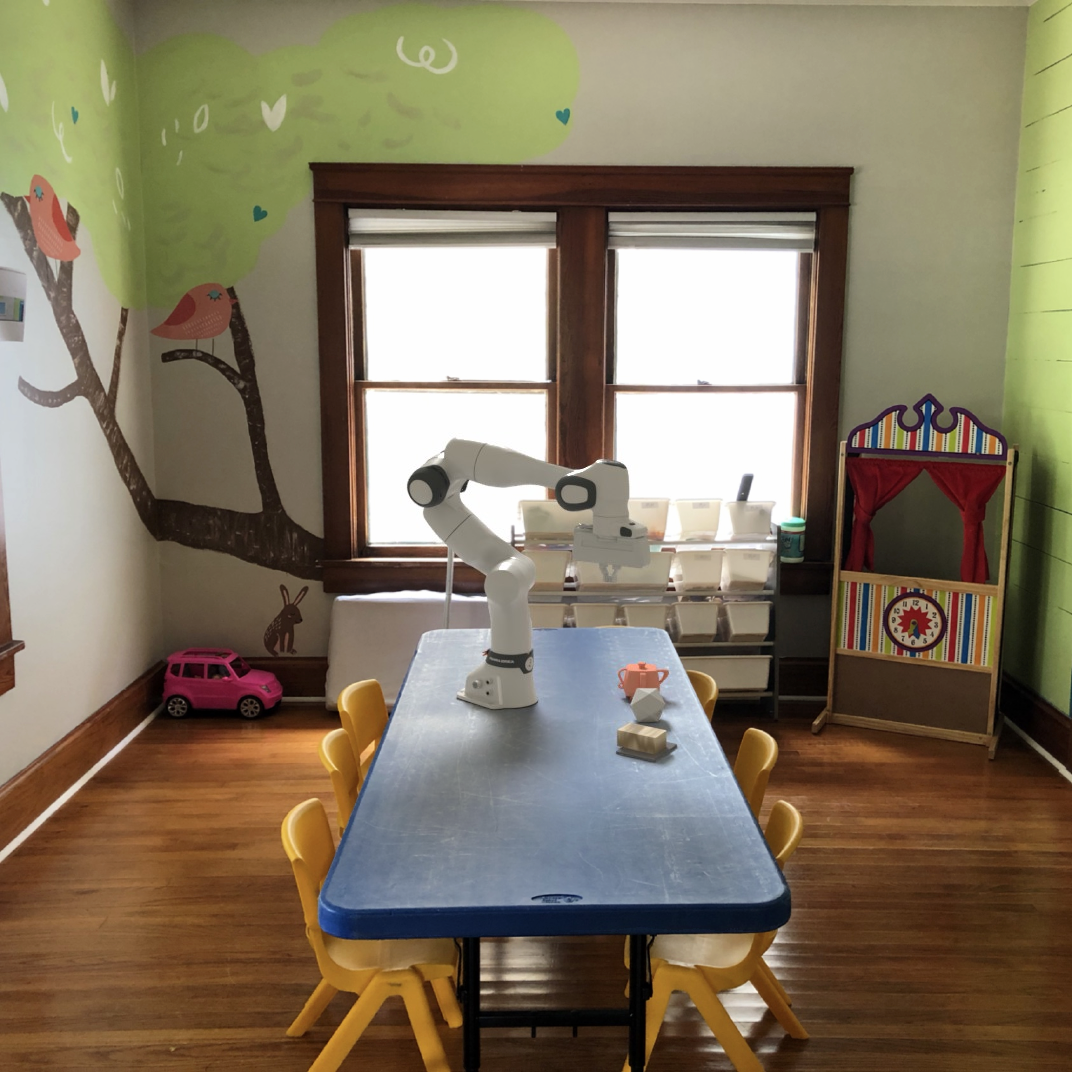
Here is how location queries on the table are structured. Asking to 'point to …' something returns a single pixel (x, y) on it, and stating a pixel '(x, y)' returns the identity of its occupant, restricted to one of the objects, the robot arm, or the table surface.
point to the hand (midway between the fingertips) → (610, 582)
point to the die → (647, 705)
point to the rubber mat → (647, 755)
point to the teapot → (640, 677)
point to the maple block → (641, 738)
